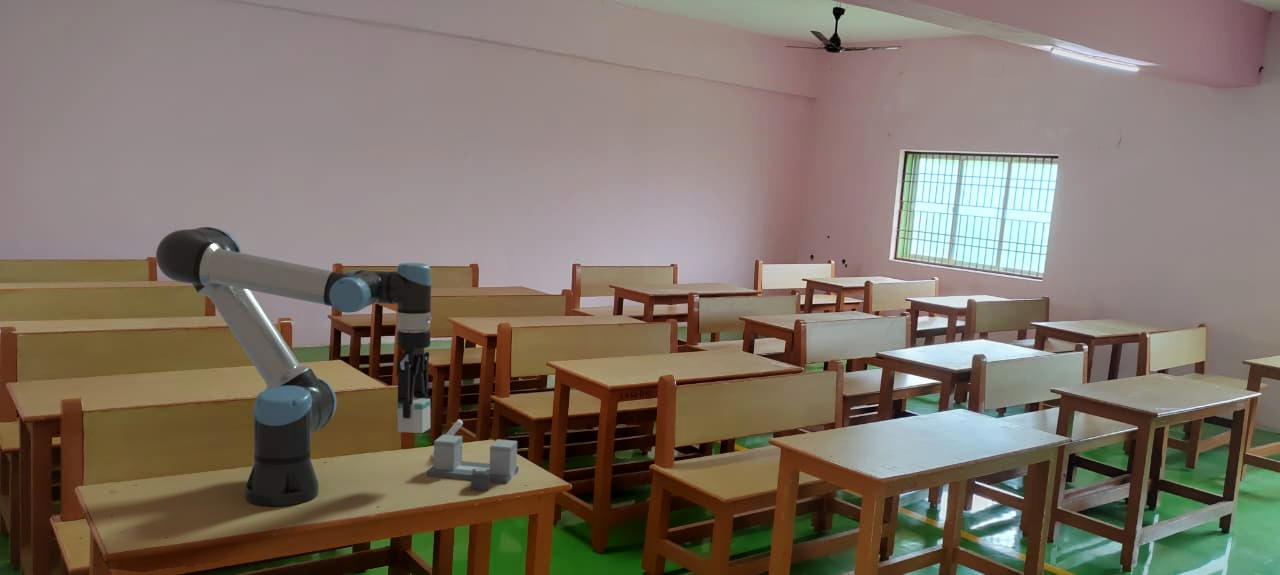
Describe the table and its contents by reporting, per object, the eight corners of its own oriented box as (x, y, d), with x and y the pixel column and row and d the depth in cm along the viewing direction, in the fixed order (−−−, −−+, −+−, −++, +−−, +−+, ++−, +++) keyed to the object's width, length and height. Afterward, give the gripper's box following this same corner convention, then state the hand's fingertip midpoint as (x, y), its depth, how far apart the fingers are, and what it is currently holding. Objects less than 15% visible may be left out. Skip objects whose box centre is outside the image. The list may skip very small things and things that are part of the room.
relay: (470, 491, 215) (471, 471, 214) (472, 485, 219) (472, 466, 218) (488, 491, 215) (489, 472, 215) (489, 485, 219) (489, 466, 219)
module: (397, 431, 215) (397, 402, 215) (406, 426, 220) (406, 397, 220) (422, 433, 214) (422, 403, 214) (430, 427, 219) (430, 398, 219)
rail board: (426, 475, 224) (427, 442, 223) (441, 463, 234) (442, 432, 233) (507, 483, 221) (508, 449, 220) (518, 471, 231) (519, 438, 230)
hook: (481, 441, 238) (459, 427, 235) (452, 475, 239) (430, 462, 236) (478, 427, 244) (457, 414, 242) (450, 461, 246) (428, 448, 243)
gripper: (413, 336, 206) (413, 439, 208) (443, 325, 223) (442, 419, 226) (381, 334, 207) (381, 436, 209) (413, 323, 224) (413, 417, 227)
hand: (413, 427), depth 217 cm, fingers closed on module, 5 cm apart
